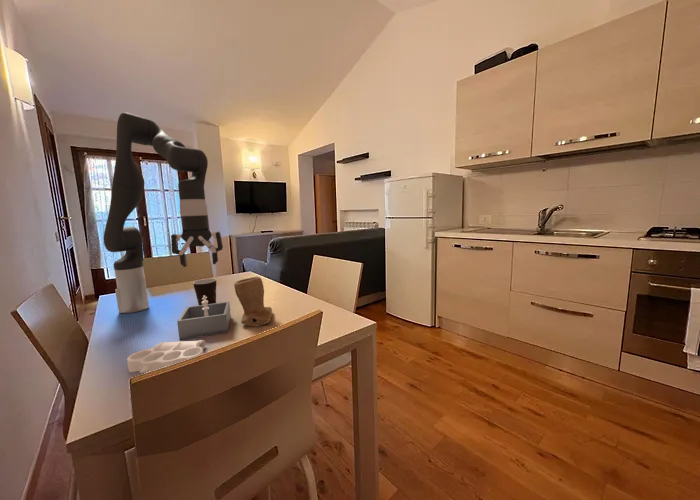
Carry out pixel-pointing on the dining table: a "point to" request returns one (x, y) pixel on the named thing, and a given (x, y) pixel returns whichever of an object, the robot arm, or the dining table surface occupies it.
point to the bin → (204, 321)
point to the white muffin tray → (164, 355)
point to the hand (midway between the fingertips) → (200, 265)
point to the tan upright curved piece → (252, 301)
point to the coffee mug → (205, 290)
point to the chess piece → (205, 306)
